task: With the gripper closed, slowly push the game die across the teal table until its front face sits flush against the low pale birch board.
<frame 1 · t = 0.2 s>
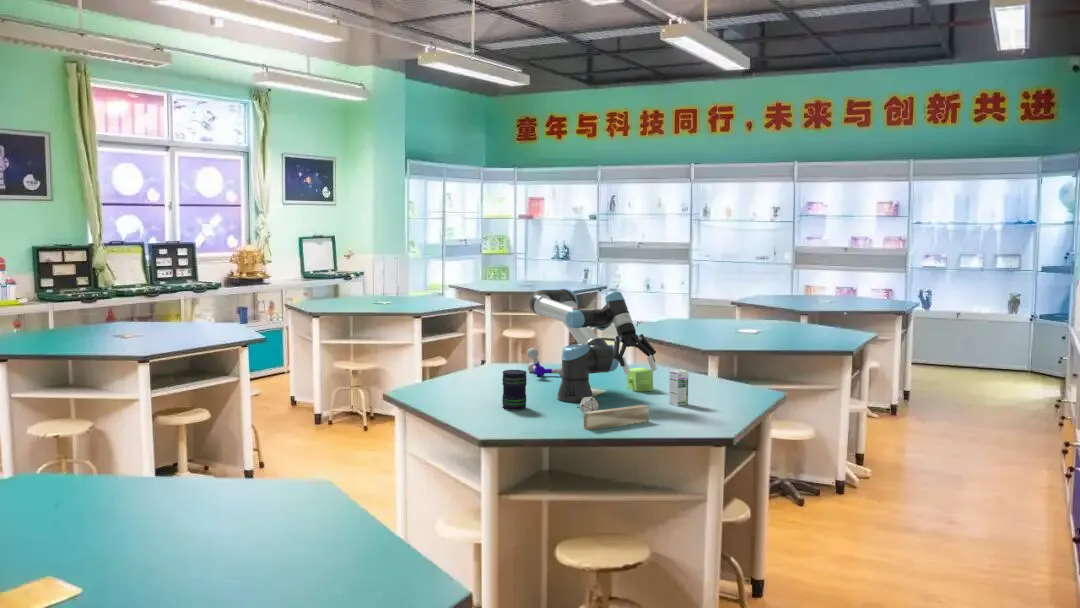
hand: (641, 371, 354), 15 cm above the table, tool tilted 35°, fingers open, 13 cm apart
syrup box: (678, 404, 365), on the table
birch board: (616, 425, 326), on the table
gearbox: (637, 389, 398), on the table
game die: (588, 416, 341), on the table
storage jar: (514, 408, 354), on the table
molecular model: (547, 376, 433), on the table
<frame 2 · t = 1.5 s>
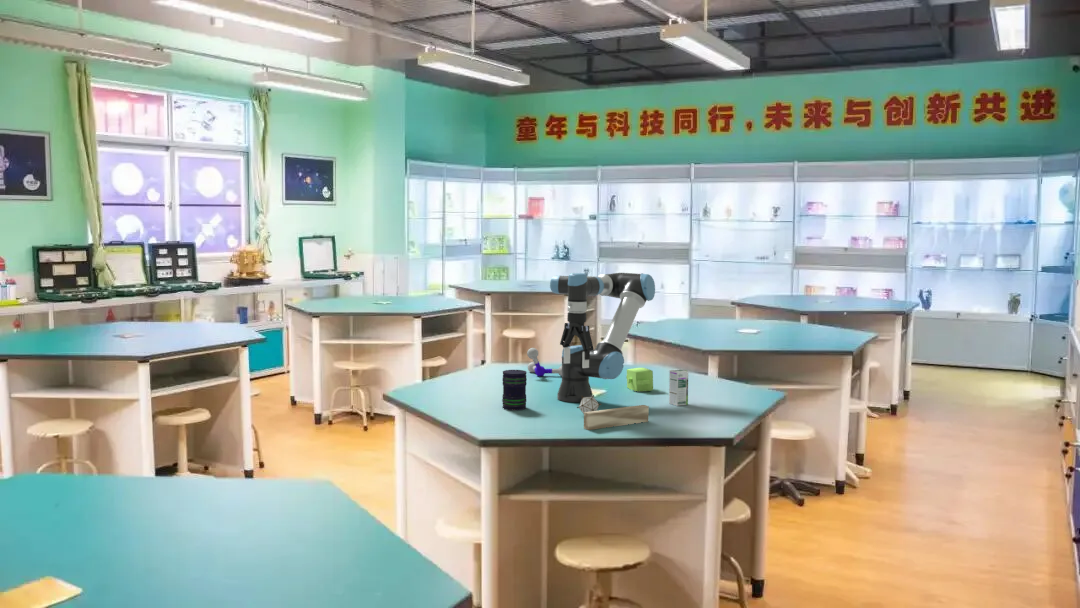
hand: (576, 365, 348), 18 cm above the table, tool pointing down, fingers open, 12 cm apart
nothing on the table moved.
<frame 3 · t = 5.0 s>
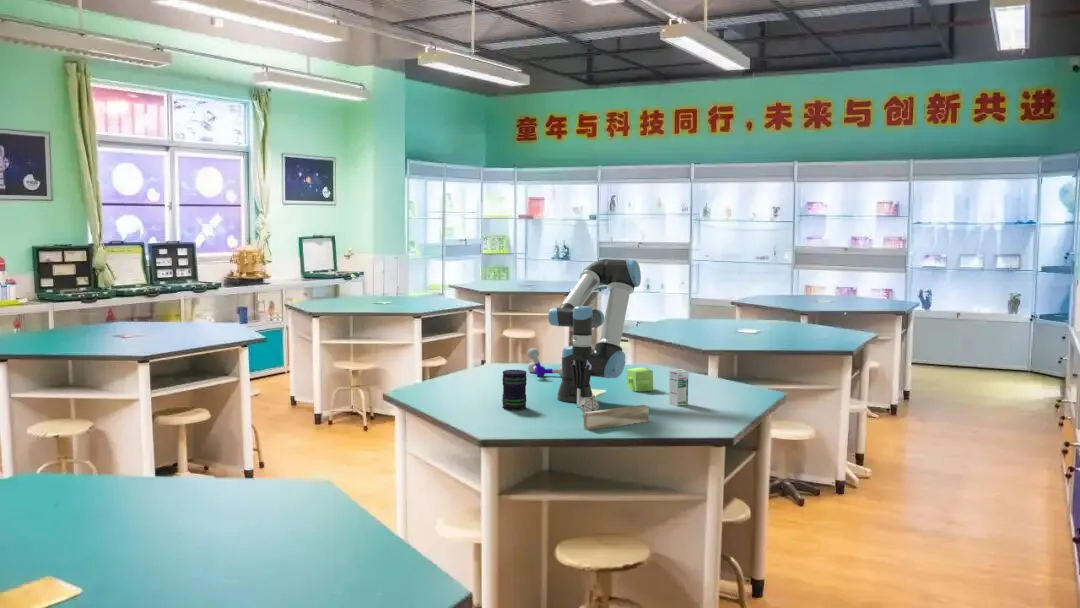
hand: (580, 404, 345), 4 cm above the table, tool pointing down, fingers closed
game die: (589, 416, 341), on the table, touching gripper
everything else where it was.
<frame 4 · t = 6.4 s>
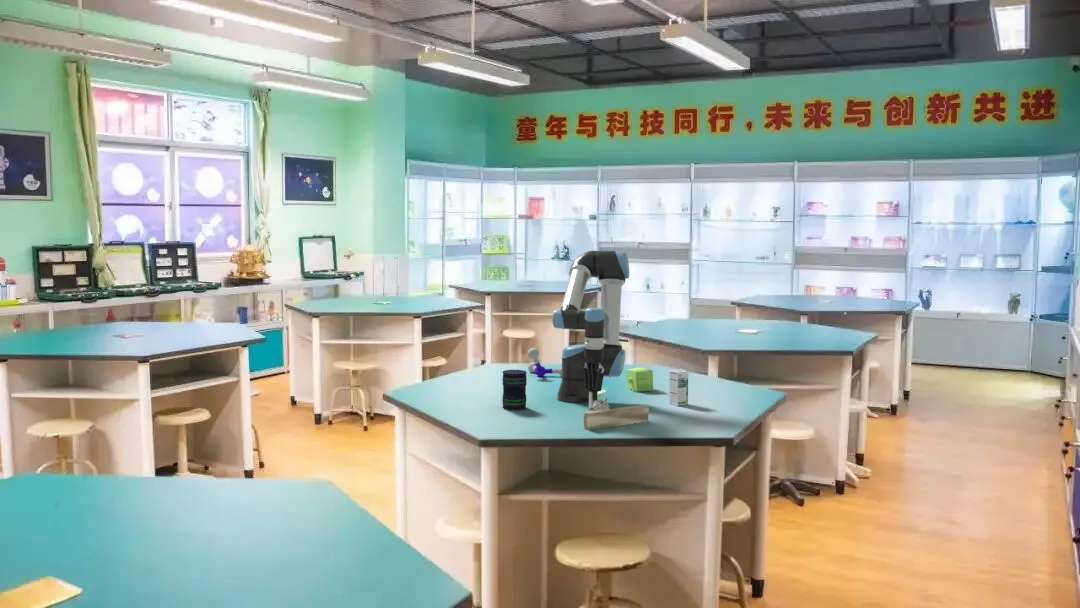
hand: (592, 408, 338), 4 cm above the table, tool pointing down, fingers closed
game die: (600, 419, 335), on the table, touching gripper
everything else where it was.
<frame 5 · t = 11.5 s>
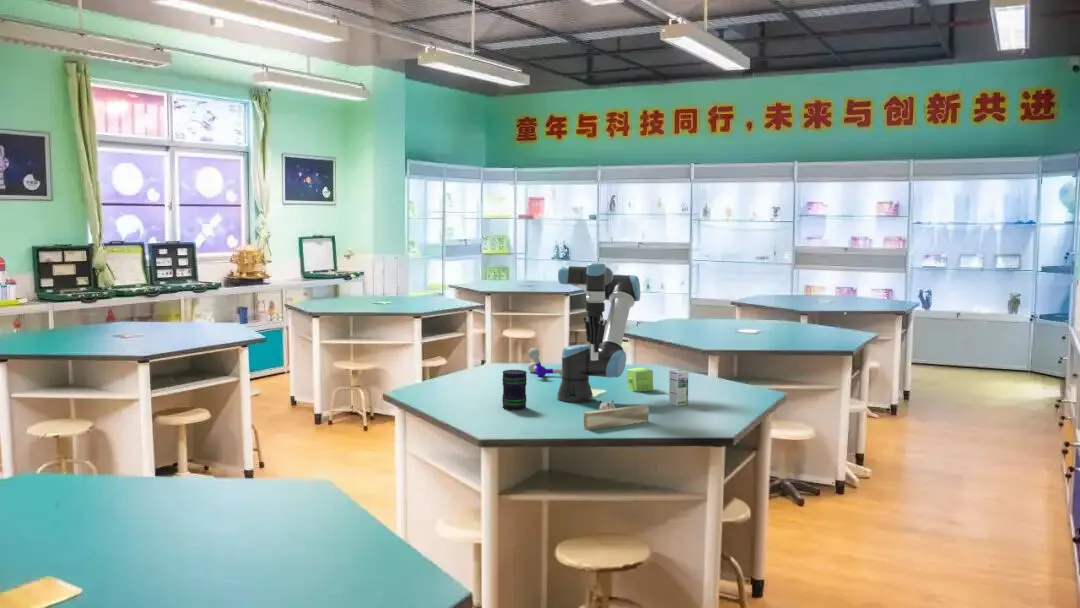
hand: (594, 360, 350), 20 cm above the table, tool pointing down, fingers closed
game die: (606, 422, 331), on the table
everything else where it was.
at the end: game die 0.4 cm from the target spot on the table beside the birch board, on the table; game die tilted 0° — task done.
